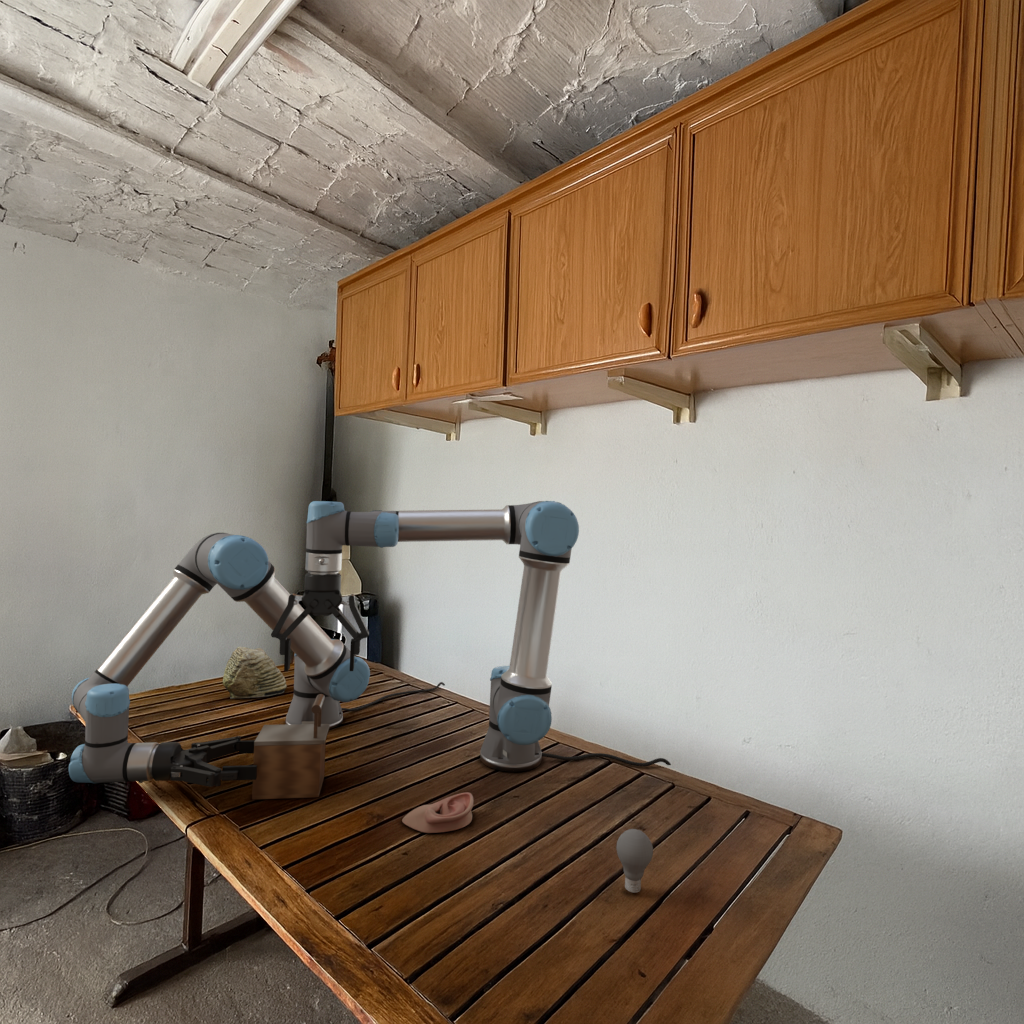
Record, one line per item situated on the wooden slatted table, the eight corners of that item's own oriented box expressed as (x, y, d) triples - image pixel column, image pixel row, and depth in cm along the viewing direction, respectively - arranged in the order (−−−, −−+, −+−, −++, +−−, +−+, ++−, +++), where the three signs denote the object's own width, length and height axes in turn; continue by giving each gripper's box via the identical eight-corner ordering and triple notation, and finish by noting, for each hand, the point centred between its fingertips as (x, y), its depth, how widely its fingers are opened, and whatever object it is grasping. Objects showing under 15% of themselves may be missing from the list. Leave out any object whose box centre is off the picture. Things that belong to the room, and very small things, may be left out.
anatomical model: (396, 808, 122) (417, 782, 133) (395, 828, 122) (416, 801, 133) (463, 818, 119) (478, 791, 130) (462, 839, 119) (477, 810, 131)
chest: (324, 777, 143) (326, 727, 143) (318, 797, 134) (320, 744, 133) (262, 779, 141) (264, 728, 141) (251, 799, 131) (254, 746, 131)
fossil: (218, 695, 195) (220, 647, 195) (278, 685, 208) (279, 640, 207) (228, 703, 189) (230, 653, 188) (289, 692, 201) (290, 645, 201)
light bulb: (610, 879, 108) (613, 822, 108) (644, 879, 109) (647, 822, 109) (619, 902, 102) (622, 840, 102) (655, 901, 103) (658, 840, 103)
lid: (329, 727, 143) (331, 692, 143) (324, 744, 133) (326, 706, 133) (264, 728, 141) (265, 692, 140) (254, 745, 131) (255, 707, 131)
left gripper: (177, 755, 145) (274, 752, 148) (131, 808, 120) (249, 803, 124) (178, 722, 144) (275, 721, 148) (132, 769, 120) (250, 765, 124)
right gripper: (258, 573, 131) (255, 674, 132) (381, 575, 136) (377, 674, 136) (266, 568, 139) (262, 665, 139) (382, 571, 143) (378, 664, 143)
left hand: (263, 758), depth 136 cm, fingers open, 13 cm apart
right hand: (319, 669), depth 138 cm, fingers open, 13 cm apart
